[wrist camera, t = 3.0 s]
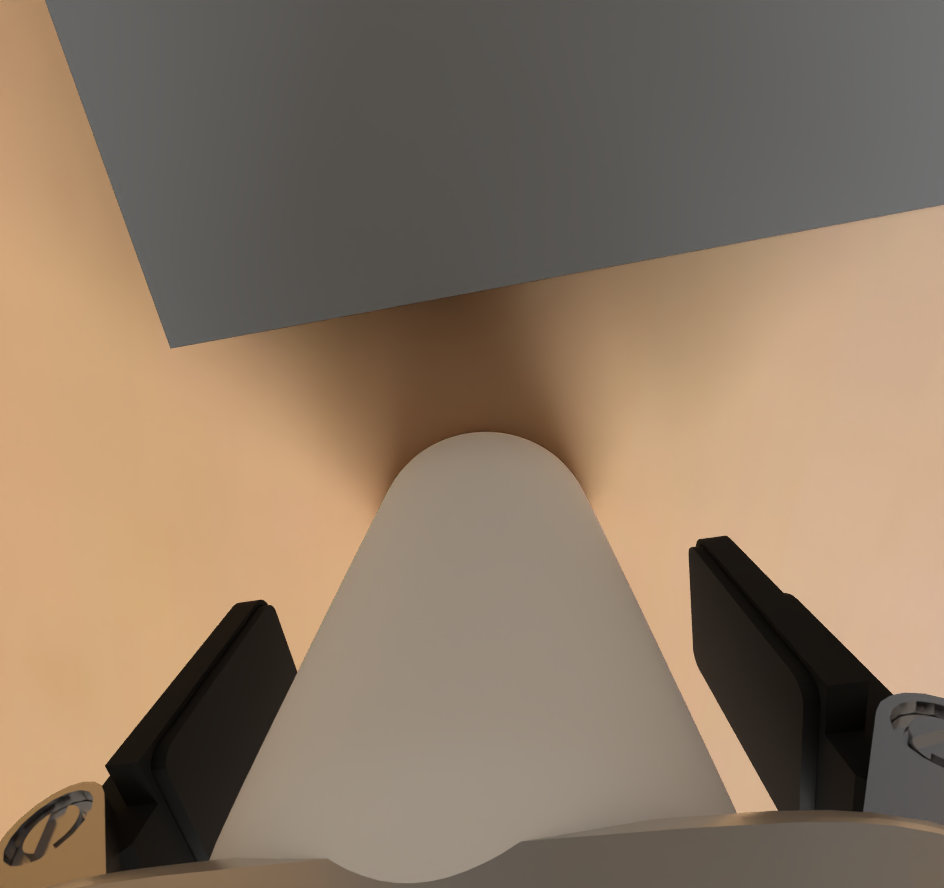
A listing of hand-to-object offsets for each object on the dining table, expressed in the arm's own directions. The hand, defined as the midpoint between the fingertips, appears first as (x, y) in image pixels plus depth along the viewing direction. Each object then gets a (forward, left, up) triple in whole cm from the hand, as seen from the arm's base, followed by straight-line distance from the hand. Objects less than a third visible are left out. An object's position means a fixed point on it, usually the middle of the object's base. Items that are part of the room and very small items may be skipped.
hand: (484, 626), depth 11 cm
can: (0, 0, -5) cm, 5 cm away
